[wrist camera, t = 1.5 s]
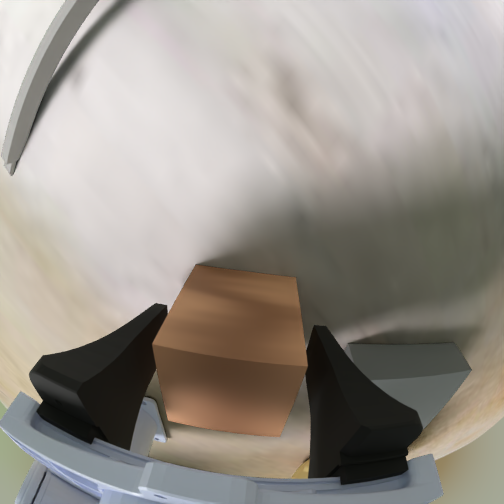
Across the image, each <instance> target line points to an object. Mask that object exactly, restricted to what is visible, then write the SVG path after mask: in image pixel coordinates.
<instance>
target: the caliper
mask: <svg viewBox="0 0 504 504" xmlns="http://www.w3.org/2000/svg"><path fill="white" fill-rule="evenodd" d="M98 1H99V0H66V1H65V2H64V4H63V5H62V7H61V8H60V10H59V11H58V13H57V14H56V16H55V18H54V19H53V21H52V23H51V24H50V26H49V28H48V30H47V31H46V33H45V35H44V37H43V39H42V41H41V43H40V44H39V46H38V48H37V50H36V52H35V55H34V57H33V59H32V61H31V63H30V65H29V68H28V70H27V72H26V75H25V77H24V80H23V82H22V85H21V87H20V90H19V93H18V95H17V98H16V101H15V104H14V107H13V111H12V114H11V117H10V121H9V124H8V128H7V132H6V136H5V140H4V144H3V149H2V154H1V157H2V158H3V160H4V162H5V163H4V166H5V168H6V169H7V171H8V173H9V174H10V176H12V175H13V173H14V170H15V165H16V161H17V160H19V158H20V156H21V153H22V151H23V149H24V146H25V144H26V142H27V139H28V136H29V133H30V130H31V127H32V124H33V121H34V118H35V116H36V113H37V110H38V108H39V105H40V103H41V100H42V98H43V95H44V93H45V91H46V88H47V86H48V84H49V82H50V80H51V78H52V75H53V73H54V71H55V69H56V67H57V65H58V64H59V62H60V60H61V58H62V56H63V54H64V53H65V51H66V49H67V47H68V46H69V44H70V42H71V41H72V39H73V37H74V36H75V34H76V32H77V31H78V29H79V28H80V26H81V25H82V23H83V22H84V20H85V19H86V17H87V16H88V15H89V13H90V12H91V10H92V9H93V8H94V6H95V5H96V4H97V2H98Z"/></svg>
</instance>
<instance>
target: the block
mask: <svg viewBox="0 0 504 504" xmlns="http://www.w3.org/2000/svg"><path fill="white" fill-rule="evenodd" d="M152 346H153V352H154V358H155V363H156V369H157V374H158V379H159V384H160V388H161V393H162V397H163V402H164V406H165V410H166V414H167V418H168V421H172V422H177V423H181V424H186V425H190V426H195V427H201V428H206V429H212V430H218V431H225V432H232V433H240V434H248V435H259V436H272V437H280V435H281V433H282V430H283V428H284V426H285V423H286V421H287V419H288V416H289V414H290V412H291V409H292V407H293V404H294V402H295V399H296V397H297V394H298V391H299V389H300V386H301V384H302V381H303V378H304V376H305V373H306V370H307V367H308V363H307V355H306V347H305V339H304V331H303V324H302V316H301V309H300V302H299V295H298V289H297V282H296V277H288V276H280V275H272V274H264V273H256V272H248V271H240V270H232V269H225V268H217V267H210V266H203V265H195V267H194V269H193V270H192V272H191V274H190V276H189V277H188V279H187V281H186V283H185V284H184V286H183V288H182V290H181V291H180V293H179V295H178V297H177V299H176V300H175V302H174V304H173V306H172V308H171V310H170V311H169V313H168V315H167V317H166V319H165V321H164V322H163V324H162V326H161V328H160V330H159V332H158V334H157V336H156V338H155V339H154V341H153V343H152Z"/></svg>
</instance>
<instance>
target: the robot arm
mask: <svg viewBox="0 0 504 504" xmlns="http://www.w3.org/2000/svg"><path fill="white" fill-rule="evenodd" d="M167 315H168V311H167V305H163V304H158V303H155V304H154V305H152V306H151V307H150V308H148V309H147V310H145V311H144V312H143V313H141V314H140V315H138V316H137V317H136V318H134V319H133V320H131V321H130V322H128V323H127V324H125V325H124V326H122V327H120V328H119V329H117V330H116V331H114V332H112V333H111V334H109V335H107V336H105V337H103V338H101V339H99V340H97V341H94V342H92V343H89V344H87V345H84V346H82V347H79V348H76V349H72V350H69V351H65V352H61V353H55V354H50V355H43V356H42V357H41V358H40V360H39V361H38V362H37V363H36V365H35V366H34V367H33V369H32V370H31V371H30V373H29V377H30V380H31V382H32V384H33V386H34V387H35V389H36V391H37V392H38V394H39V395H40V397H41V398H42V400H43V402H42V403H41V405H40V404H39V403H38V402H37V401H35V400H34V399H33V398H31V397H29V396H28V395H26V394H25V393H23V392H20V393H19V394H18V395H17V397H16V398H15V400H14V401H13V402H12V404H11V405H10V407H9V408H8V410H7V412H6V413H5V414H4V416H3V418H2V419H1V420H0V428H1V429H2V430H3V431H4V432H5V433H6V434H7V435H8V436H9V437H10V438H11V439H12V440H13V441H14V442H15V443H16V444H17V445H18V446H19V447H20V448H21V449H23V450H24V451H25V452H26V453H28V454H29V455H30V456H32V457H33V458H35V460H34V462H33V464H32V466H31V468H30V470H29V472H28V474H27V476H26V478H25V480H24V482H23V484H22V486H21V489H20V491H19V493H18V495H17V498H16V500H15V504H428V503H430V502H432V501H434V500H436V499H437V498H439V497H441V496H443V490H442V486H441V482H440V478H439V475H438V471H437V468H436V464H435V461H434V457H433V454H428V455H424V456H420V457H417V458H413V459H411V460H409V461H407V460H406V457H405V456H407V455H408V449H407V447H408V446H409V445H410V444H411V443H412V442H413V441H414V440H416V439H417V438H418V436H419V435H420V434H421V432H422V430H423V426H422V423H421V420H420V417H419V415H418V412H417V411H416V410H414V409H412V408H410V407H408V406H406V405H404V404H402V403H401V402H399V401H397V400H396V399H394V398H393V397H391V396H390V395H388V394H387V393H385V392H384V391H383V390H382V389H380V388H379V387H378V386H377V385H375V384H374V383H373V382H372V381H371V380H370V379H369V378H367V377H366V376H365V375H364V374H363V373H362V372H361V371H360V370H359V369H358V367H357V366H356V365H355V364H354V363H353V362H352V361H351V359H350V358H349V357H348V356H347V354H346V353H345V352H344V350H343V349H342V348H341V346H340V345H339V344H338V342H337V341H336V339H335V338H334V337H333V335H332V334H331V332H330V331H329V329H328V328H327V327H326V326H319V325H314V327H313V330H312V334H311V337H310V340H309V343H308V346H307V350H306V355H307V363H308V367H307V370H306V373H305V376H306V383H307V390H308V397H309V405H310V414H311V441H310V461H309V472H308V479H278V478H259V477H247V476H237V475H229V474H222V473H215V472H209V471H204V470H198V469H193V468H189V467H184V466H180V465H175V464H171V463H167V462H164V461H160V460H156V459H153V458H150V457H148V455H149V452H150V449H151V446H152V443H153V440H156V441H160V442H166V441H167V437H166V434H165V431H164V428H163V424H162V421H161V418H160V414H159V411H158V407H157V403H156V402H155V401H154V400H153V399H151V398H147V397H144V395H145V392H146V390H147V387H148V385H149V383H150V381H151V379H152V377H153V375H154V373H155V371H156V363H155V358H154V352H153V346H152V343H153V341H154V339H155V338H156V336H157V334H158V332H159V330H160V328H161V326H162V324H163V322H164V321H165V319H166V317H167Z"/></svg>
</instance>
